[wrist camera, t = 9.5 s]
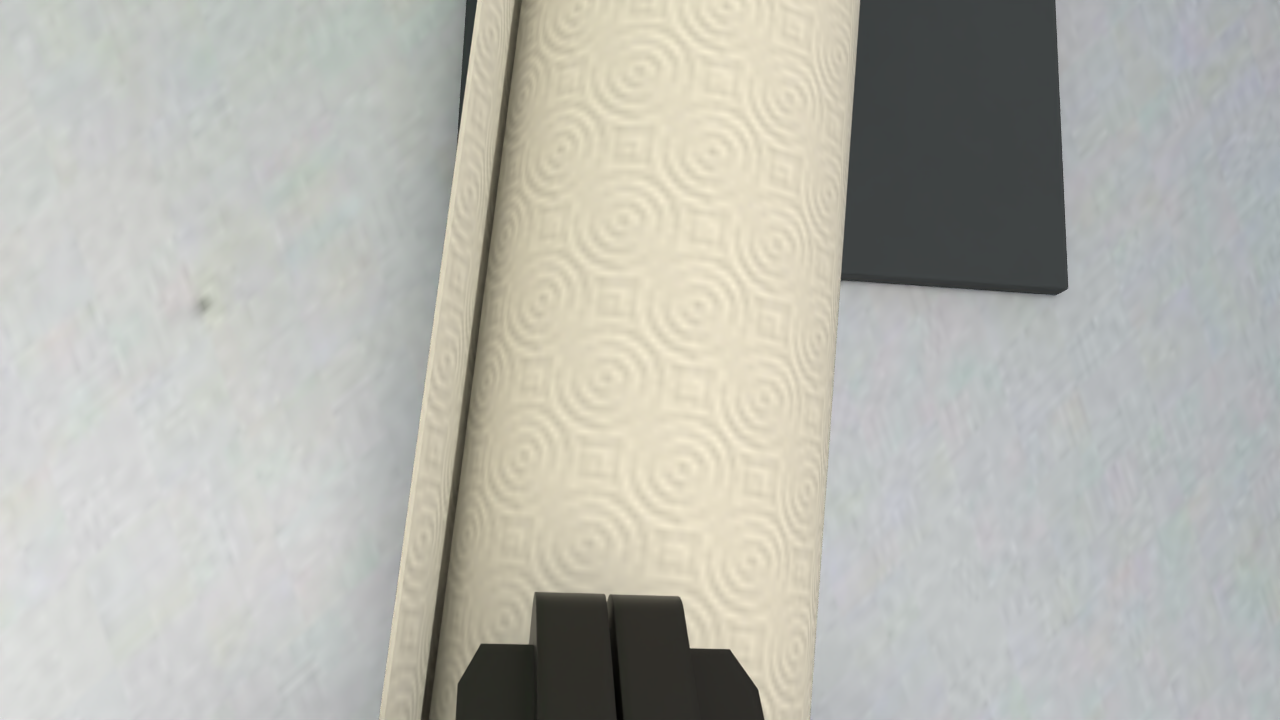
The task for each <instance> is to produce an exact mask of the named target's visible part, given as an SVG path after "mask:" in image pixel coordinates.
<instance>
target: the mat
mask: <svg viewBox="0 0 1280 720" xmlns="http://www.w3.org/2000/svg"><path fill="white" fill-rule="evenodd" d="M476 7H477V0H467V2H466V17H465V32H464V47H463V62H462V77H461V93H460V108H459V123H458V138H459V131H460V124H461V116H462V109H463V102H464V95H465V87H466V80H467V73H468V65H469V58H470V51H471V43H472V36H473V29H474V22H475V14H476ZM458 138H457V146H458ZM841 280H854V281H869V282H883V283H898V284H912V285H926V286H941V287H955V288H969V289H984V290H998V291H1012V292H1027V293H1041V294H1055V295H1057V294H1059V293H1061V292H1063V291H1065V290H1067V289H1068V273H1067V251H1066V229H1065V207H1064V185H1063V163H1062V141H1061V119H1060V96H1059V74H1058V52H1057V30H1056V8H1055V0H860V11H859V25H858V39H857V53H856V68H855V82H854V96H853V111H852V125H851V139H850V153H849V168H848V182H847V196H846V211H845V225H844V239H843V253H842V268H841Z"/></svg>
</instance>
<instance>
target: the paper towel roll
mask: <svg viewBox="0 0 1280 720" xmlns="http://www.w3.org/2000/svg"><path fill="white" fill-rule="evenodd" d="M859 11H860V0H477V7H476V14H475V22H474V29H473V36H472V43H471V51H470V58H469V65H468V73H467V80H466V87H465V95H464V102H463V109H462V116H461V124H460V131H459V138H458V146H457V153H456V160H455V168H454V175H453V182H452V189H451V197H450V204H449V211H448V219H447V226H446V233H445V241H444V248H443V255H442V262H441V270H440V277H439V284H438V292H437V299H436V306H435V314H434V321H433V328H432V335H431V343H430V350H429V357H428V365H427V372H426V379H425V387H424V394H423V401H422V409H421V416H420V423H419V430H418V438H417V445H416V452H415V460H414V467H413V474H412V482H411V489H410V496H409V503H408V511H407V518H406V525H405V533H404V540H403V547H402V555H401V562H400V569H399V576H398V584H397V591H396V598H395V606H394V613H393V620H392V628H391V635H390V642H389V649H388V657H387V664H386V671H385V679H384V686H383V693H382V701H381V708H380V715H379V720H455V719H456V702H457V685H458V682H459V680H460V679H461V677H462V675H463V674H464V672H465V670H466V668H467V667H468V665H469V663H470V662H471V660H472V658H473V656H474V655H475V653H476V651H477V650H478V648H479V646H480V644H481V643H483V644H529V637H530V627H531V616H532V606H533V598H534V593H535V592H559V593H596V594H605V596H606V600H608V597H609V595H610V594H620V595H656V596H679V597H680V598H681V600H682V603H683V608H684V613H685V620H686V626H687V633H688V639H689V645H690V648H700V649H730V650H731V651H732V653H733V654H734V656H735V657H736V659H737V660H738V661H739V663H740V664H741V666H742V667H743V668H744V670H745V671H746V673H747V674H748V676H749V677H750V678H751V680H752V681H753V683H754V684H755V685H756V687H757V688H758V691H759V696H760V700H761V705H762V710H763V714H764V719H765V720H810V711H811V697H812V682H813V668H814V654H815V639H816V625H817V611H818V597H819V582H820V568H821V554H822V539H823V525H824V511H825V496H826V482H827V468H828V454H829V439H830V425H831V411H832V396H833V382H834V368H835V354H836V339H837V325H838V311H839V296H840V282H841V268H842V253H843V239H844V225H845V211H846V196H847V182H848V168H849V153H850V139H851V125H852V111H853V96H854V82H855V68H856V53H857V39H858V25H859Z"/></svg>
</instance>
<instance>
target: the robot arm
mask: <svg viewBox="0 0 1280 720" xmlns="http://www.w3.org/2000/svg"><path fill="white" fill-rule="evenodd" d="M455 720H765V719H764V714H763V710H762V705H761V700H760V696H759V691H758V688H757V687H756V685H755V684H754V683H753V681H752V680H751V678H750V677H749V676H748V674H747V673H746V671H745V670H744V668H743V667H742V666H741V664H740V663H739V661H738V660H737V659H736V657H735V656H734V654H733V653H732V651H731V650H730V649H700V648H690V645H689V639H688V633H687V626H686V620H685V613H684V608H683V603H682V600H681V598H680V597H679V596H656V595H620V594H610V595H609V597H608V600H606V596H605V594H596V593H559V592H535V593H534V598H533V606H532V616H531V627H530V637H529V644H483V643H481V644H480V646H479V648H478V650H477V651H476V653H475V655H474V656H473V658H472V660H471V662H470V663H469V665H468V667H467V668H466V670H465V672H464V674H463V675H462V677H461V679H460V680H459V682H458V685H457V702H456V719H455Z"/></svg>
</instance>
